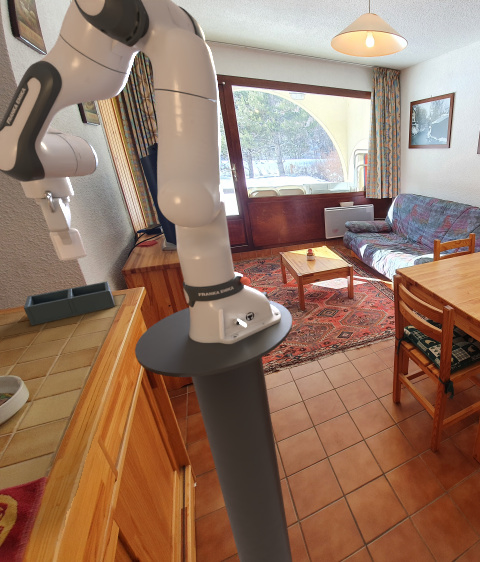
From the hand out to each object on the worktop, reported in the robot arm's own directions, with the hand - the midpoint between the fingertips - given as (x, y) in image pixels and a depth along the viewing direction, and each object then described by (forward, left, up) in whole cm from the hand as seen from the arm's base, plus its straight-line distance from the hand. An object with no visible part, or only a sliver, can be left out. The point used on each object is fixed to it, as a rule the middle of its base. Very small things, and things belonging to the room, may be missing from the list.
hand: (68, 242), depth 84 cm
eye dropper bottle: (0, 0, -5) cm, 5 cm away
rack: (+4, -2, -20) cm, 21 cm away
